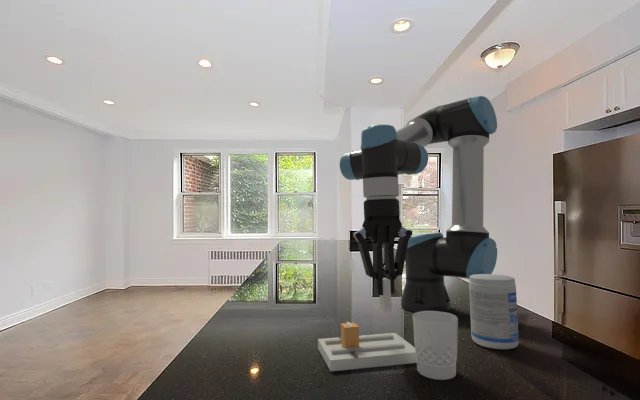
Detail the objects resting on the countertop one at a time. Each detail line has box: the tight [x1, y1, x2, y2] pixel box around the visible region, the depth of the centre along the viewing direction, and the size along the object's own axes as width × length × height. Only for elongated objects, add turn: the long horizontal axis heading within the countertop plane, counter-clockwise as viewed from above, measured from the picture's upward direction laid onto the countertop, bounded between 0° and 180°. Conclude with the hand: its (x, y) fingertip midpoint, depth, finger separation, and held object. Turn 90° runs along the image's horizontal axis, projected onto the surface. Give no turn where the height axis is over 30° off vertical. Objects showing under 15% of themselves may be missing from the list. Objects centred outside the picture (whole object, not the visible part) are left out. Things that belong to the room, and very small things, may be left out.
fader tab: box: [340, 321, 360, 348], centre depth 72 cm, size 3×3×4 cm
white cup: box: [412, 311, 459, 381], centre depth 64 cm, size 8×8×10 cm
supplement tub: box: [468, 273, 520, 350], centre depth 79 cm, size 10×10×15 cm
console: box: [317, 332, 417, 372], centre depth 72 cm, size 18×12×3 cm, turn 102°
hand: (385, 309), depth 74 cm, fingers closed
